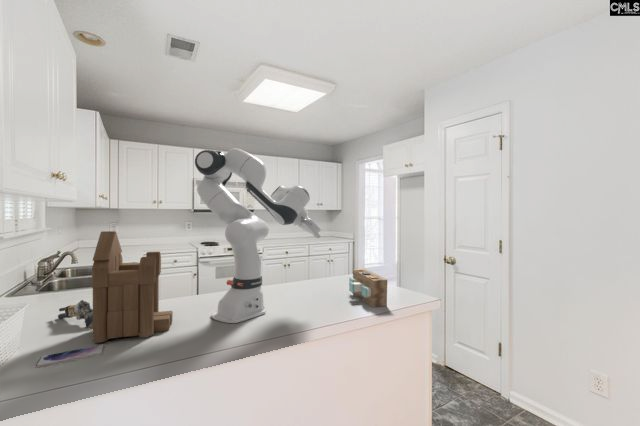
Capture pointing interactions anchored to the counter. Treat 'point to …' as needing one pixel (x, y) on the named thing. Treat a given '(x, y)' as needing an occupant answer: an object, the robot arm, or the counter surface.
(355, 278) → the plunger far
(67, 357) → the smartphone
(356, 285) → the plunger middle
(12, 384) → the counter surface
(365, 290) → the plunger near
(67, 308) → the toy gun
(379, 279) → the console
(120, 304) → the castle structure
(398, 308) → the counter surface
